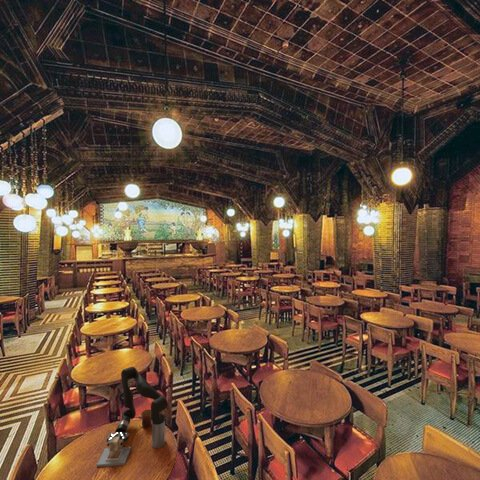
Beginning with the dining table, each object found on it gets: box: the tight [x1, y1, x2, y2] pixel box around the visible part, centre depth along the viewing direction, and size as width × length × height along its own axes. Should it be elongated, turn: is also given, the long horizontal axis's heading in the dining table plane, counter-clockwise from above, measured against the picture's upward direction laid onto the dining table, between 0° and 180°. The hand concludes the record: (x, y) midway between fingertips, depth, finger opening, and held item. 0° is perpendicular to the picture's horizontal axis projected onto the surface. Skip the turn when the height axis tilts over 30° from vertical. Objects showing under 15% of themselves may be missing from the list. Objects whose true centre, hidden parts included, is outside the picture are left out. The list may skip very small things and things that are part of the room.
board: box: [96, 446, 132, 468], centre depth 189 cm, size 18×14×2 cm
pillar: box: [108, 437, 120, 458], centre depth 189 cm, size 5×5×11 cm
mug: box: [140, 408, 152, 429], centre depth 223 cm, size 12×9×10 cm
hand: (114, 444), depth 189 cm, fingers open, 8 cm apart
